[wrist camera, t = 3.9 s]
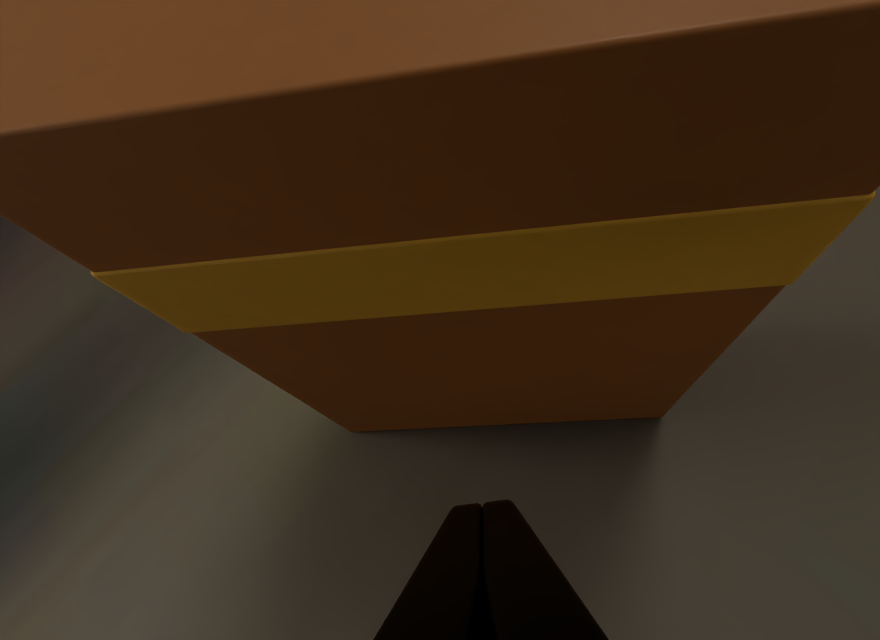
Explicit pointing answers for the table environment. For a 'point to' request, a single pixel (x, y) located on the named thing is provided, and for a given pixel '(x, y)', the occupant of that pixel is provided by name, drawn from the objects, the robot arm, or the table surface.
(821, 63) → the brown banded box
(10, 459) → the table surface
